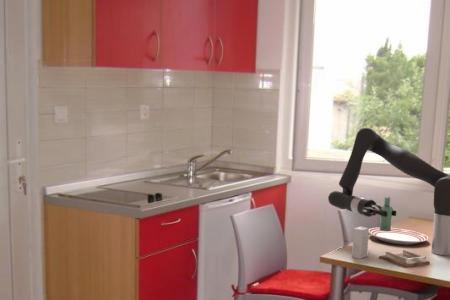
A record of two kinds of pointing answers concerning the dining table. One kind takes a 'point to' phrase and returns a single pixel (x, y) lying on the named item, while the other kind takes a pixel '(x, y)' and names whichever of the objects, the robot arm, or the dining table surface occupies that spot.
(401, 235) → the dinner plate
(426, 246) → the dining table surface
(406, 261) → the bottle holder
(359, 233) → the skincare box
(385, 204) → the green bottle
